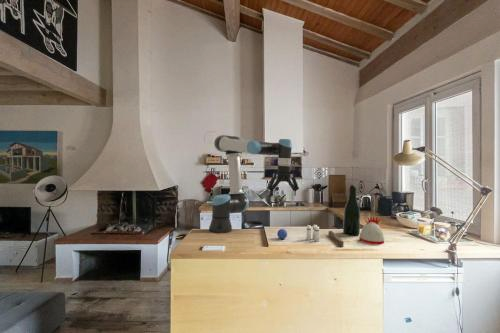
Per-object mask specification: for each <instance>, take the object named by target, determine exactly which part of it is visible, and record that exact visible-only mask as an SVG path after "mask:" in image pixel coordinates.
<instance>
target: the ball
mask: <svg viewBox="0 0 500 333" xmlns="http://www.w3.org/2000/svg"><path fill="white" fill-rule="evenodd" d="M287 236H288V232H287V230H286V229H284V228H280V229H278V230H277V237H278V238H279V239H281V240H285V239H286V238H287Z"/></svg>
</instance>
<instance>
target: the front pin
mask: <svg viewBox="0 0 500 333" xmlns="http://www.w3.org/2000/svg"><path fill="white" fill-rule="evenodd" d="M311 229H312V226H311V225H309V224H307V225H306V240H307V241H311V232H312V230H311Z"/></svg>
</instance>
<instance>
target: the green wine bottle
mask: <svg viewBox="0 0 500 333" xmlns="http://www.w3.org/2000/svg"><path fill="white" fill-rule="evenodd" d="M348 189H349V190H348V191H349V192H348V199H347V202H346V204H345V206H344V212H343V225H342V226H343V227H342V232H343V234H344V235H346V234H347V236H360V233H361V227H360V226H361V211H360V206H359V203H358V200H357V187H356V184H350V185H349V188H348Z"/></svg>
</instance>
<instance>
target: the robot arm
mask: <svg viewBox="0 0 500 333" xmlns="http://www.w3.org/2000/svg"><path fill="white" fill-rule="evenodd" d="M213 143H214V148H215V149H216V150H217V151H218V152H221V153H225V157H226V158H227V160H228V161H227V162H228V178H229V179H228V180H229V192H228V194H225V193H224V194H217V195H215V196H213V198H212V202H211V204H212V209H211V212H212V213H211V220H210V221H211V222H210V224H209V227H208V230H209V232H211V233H216V234H218V233H219V234H222V233H223V234H226V233H230V232H232V231H233V226H232V222H231V219H230V218H231V217H230V215H231V214H237V213H244V212H246V211H247V209H248V208H249V204H250V201H249V198H248V196H247V195H246V194H245V193H246V192H244V191H243V179H242V166H241V164H242V163H241V157H242V156H243V153H246V154H250V155H265V156H278V157H277V158H278V159H277V165H278V166H277V173H272V176H271V179H270V181H269V183H268V185H267V187H266V189H267V190H268V191H269V196H270V202H271V203H275V189H276V188H277V186H278V185H279V184H280V183H281V182H286V183H287V184H288V186H289V187H290V188H291V189H292V190H290V191H291V193H290V201H291V202H292V203H294V202H295V199H296V198H295V197H296V196H297V195H296V194H297V192H296V191H298V190H300V188H299V185H298V182H297V179H296V175H295V173H291V168H292V166H291V164H292V149H293V145H292V144H293V142H292V139H291V138H290V139H289V138H279V140H278V142H267V141H259V140H249V139H248V140H247V139H243V138H242V137H239V136H233V135H225V134H221V135H218V136H216V137H215V139H214V142H213ZM275 180H276V181H275Z"/></svg>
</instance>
